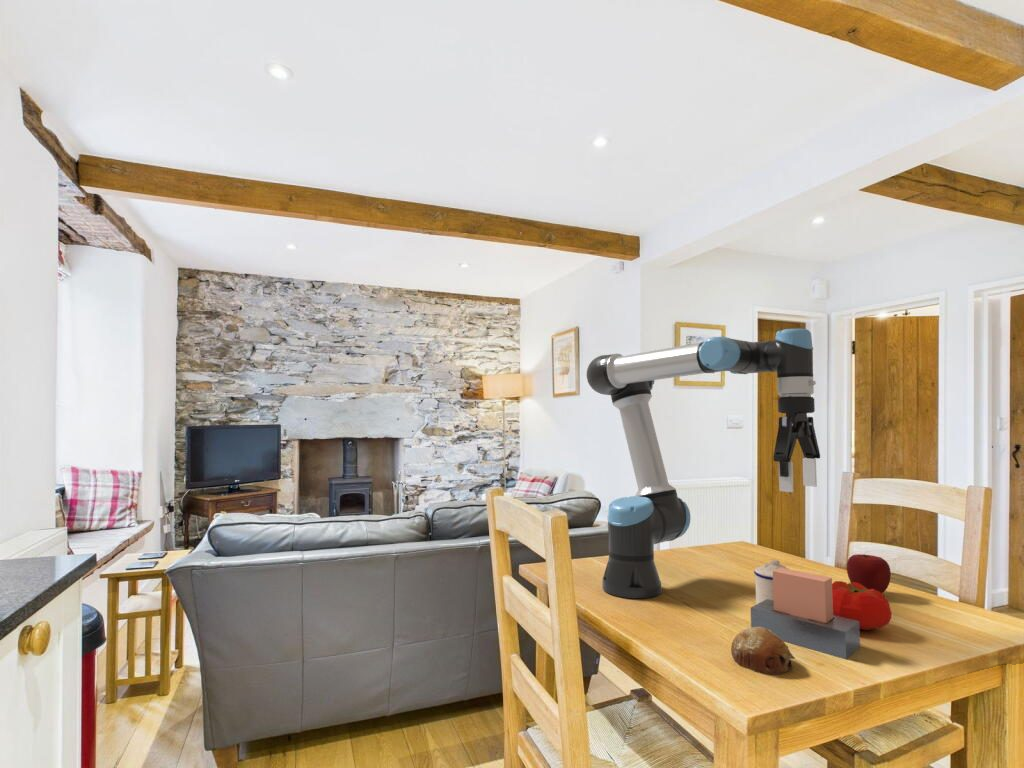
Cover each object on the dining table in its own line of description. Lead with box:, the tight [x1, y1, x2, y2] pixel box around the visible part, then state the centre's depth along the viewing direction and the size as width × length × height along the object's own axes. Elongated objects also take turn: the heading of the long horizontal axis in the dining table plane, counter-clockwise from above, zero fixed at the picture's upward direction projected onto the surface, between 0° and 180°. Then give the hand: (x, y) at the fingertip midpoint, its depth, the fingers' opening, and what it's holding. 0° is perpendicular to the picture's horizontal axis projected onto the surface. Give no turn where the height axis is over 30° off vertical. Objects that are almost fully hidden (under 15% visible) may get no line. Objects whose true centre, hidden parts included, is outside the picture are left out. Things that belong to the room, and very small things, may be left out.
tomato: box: [832, 580, 892, 631], centre depth 120 cm, size 14×13×9 cm
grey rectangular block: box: [750, 599, 861, 660], centre depth 114 cm, size 18×8×5 cm, turn 42°
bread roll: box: [730, 627, 796, 675], centre depth 103 cm, size 10×10×8 cm
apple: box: [846, 553, 892, 594], centre depth 142 cm, size 10×10×10 cm
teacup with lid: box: [753, 558, 792, 605], centre depth 131 cm, size 12×9×12 cm
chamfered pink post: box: [773, 568, 833, 624], centre depth 114 cm, size 10×4×11 cm, turn 42°
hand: (798, 488), depth 128 cm, fingers open, 13 cm apart
